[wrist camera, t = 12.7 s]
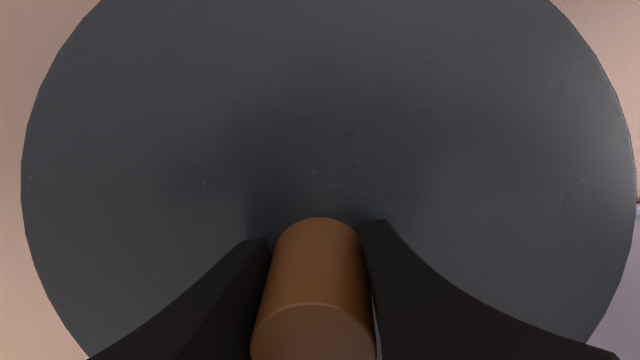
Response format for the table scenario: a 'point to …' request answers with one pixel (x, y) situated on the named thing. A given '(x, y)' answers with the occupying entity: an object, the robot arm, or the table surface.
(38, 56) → the table surface
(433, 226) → the lid
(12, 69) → the table surface
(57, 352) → the table surface
